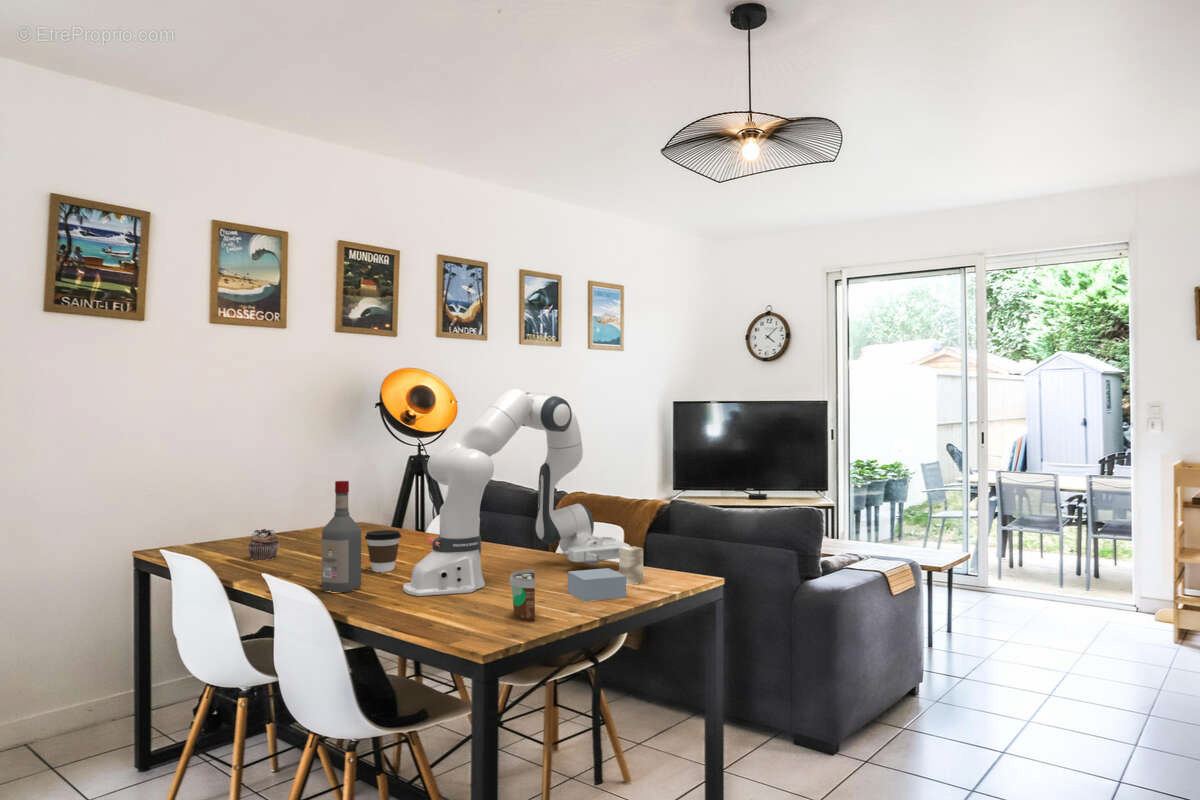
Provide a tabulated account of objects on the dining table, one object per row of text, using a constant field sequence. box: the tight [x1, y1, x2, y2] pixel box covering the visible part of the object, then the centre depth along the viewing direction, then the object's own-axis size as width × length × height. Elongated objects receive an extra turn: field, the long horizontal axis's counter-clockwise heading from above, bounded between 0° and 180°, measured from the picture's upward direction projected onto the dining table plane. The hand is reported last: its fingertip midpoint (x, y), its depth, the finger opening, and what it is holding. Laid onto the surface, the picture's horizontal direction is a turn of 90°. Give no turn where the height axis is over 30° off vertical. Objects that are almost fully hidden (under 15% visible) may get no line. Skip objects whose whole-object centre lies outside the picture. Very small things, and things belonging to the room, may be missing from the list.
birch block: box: [618, 545, 644, 586], centre depth 224 cm, size 5×5×10 cm
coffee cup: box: [364, 529, 402, 572], centre depth 242 cm, size 11×11×12 cm
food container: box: [508, 569, 536, 622], centre depth 187 cm, size 12×6×10 cm, turn 5°
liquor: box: [321, 480, 362, 593], centre depth 216 cm, size 9×9×30 cm
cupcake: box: [247, 528, 279, 560], centre depth 264 cm, size 10×10×10 cm
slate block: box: [567, 567, 627, 602], centre depth 208 cm, size 12×12×6 cm
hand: (611, 556), depth 235 cm, fingers open, 8 cm apart
